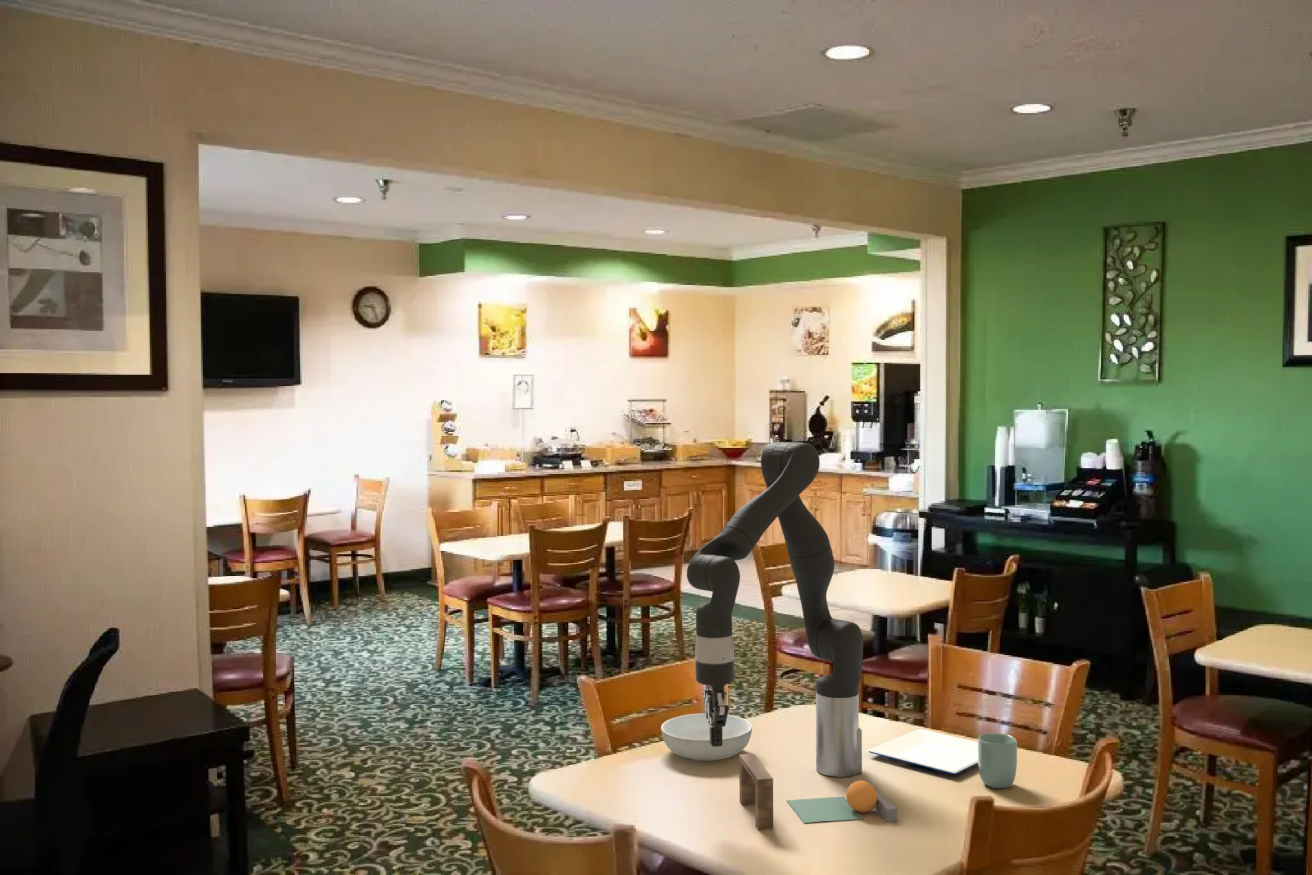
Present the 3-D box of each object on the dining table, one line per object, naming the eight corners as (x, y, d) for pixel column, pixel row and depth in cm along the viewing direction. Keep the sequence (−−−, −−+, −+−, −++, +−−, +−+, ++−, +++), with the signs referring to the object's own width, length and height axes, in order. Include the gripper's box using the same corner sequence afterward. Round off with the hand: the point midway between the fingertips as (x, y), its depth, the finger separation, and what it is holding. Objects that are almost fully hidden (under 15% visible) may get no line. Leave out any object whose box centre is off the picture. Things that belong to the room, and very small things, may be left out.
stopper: (868, 792, 230) (868, 780, 230) (897, 820, 214) (897, 808, 214) (859, 792, 230) (859, 780, 230) (887, 821, 214) (887, 808, 214)
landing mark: (843, 797, 227) (843, 796, 227) (863, 819, 216) (863, 818, 216) (786, 801, 225) (786, 800, 225) (804, 823, 214) (804, 822, 214)
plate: (1005, 756, 253) (1005, 747, 253) (955, 781, 237) (955, 772, 237) (919, 736, 269) (919, 727, 268) (866, 758, 253) (866, 749, 253)
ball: (875, 779, 223) (846, 774, 222) (883, 788, 217) (853, 783, 216) (869, 808, 223) (840, 804, 222) (877, 818, 217) (847, 813, 216)
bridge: (753, 800, 226) (753, 753, 226) (773, 828, 211) (773, 778, 211) (739, 801, 225) (739, 754, 225) (758, 829, 211) (757, 779, 210)
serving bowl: (685, 736, 270) (685, 708, 269) (765, 748, 260) (765, 719, 260) (645, 761, 251) (644, 731, 251) (729, 775, 241) (729, 744, 241)
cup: (972, 779, 237) (972, 733, 237) (1007, 778, 238) (1007, 732, 238) (986, 792, 230) (986, 744, 229) (1022, 791, 230) (1022, 743, 230)
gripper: (741, 664, 210) (743, 754, 211) (725, 648, 223) (727, 733, 224) (702, 666, 209) (704, 757, 209) (689, 650, 222) (690, 736, 222)
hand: (716, 745), depth 217 cm, fingers closed
